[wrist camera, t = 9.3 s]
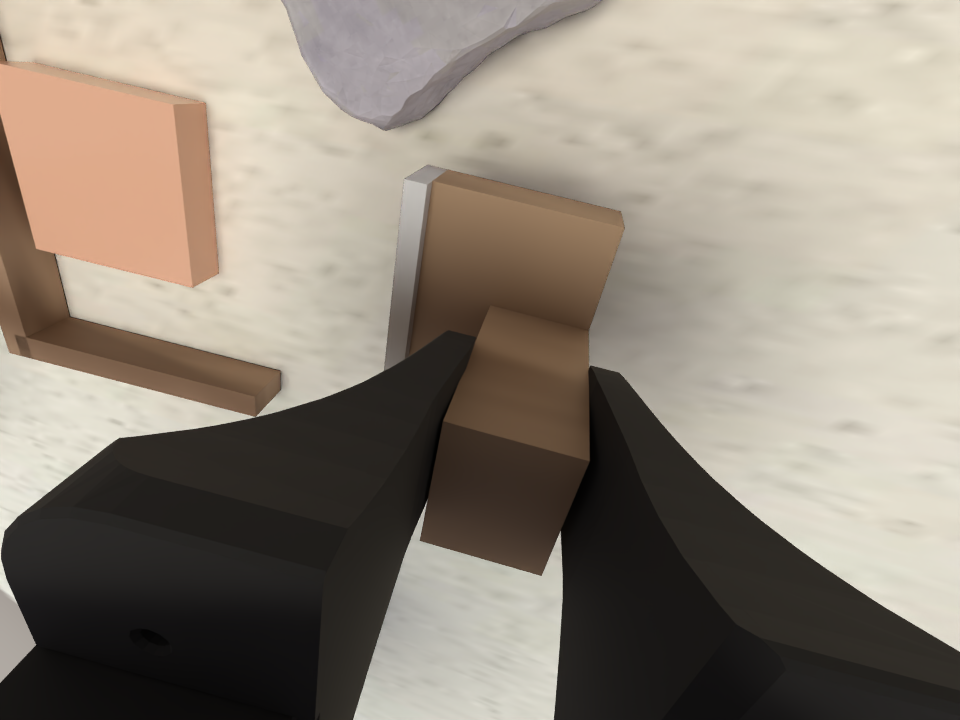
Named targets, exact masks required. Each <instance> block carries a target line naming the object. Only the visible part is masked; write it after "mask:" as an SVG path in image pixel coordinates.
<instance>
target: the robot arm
mask: <svg viewBox="0 0 960 720" xmlns="http://www.w3.org/2000/svg"><path fill="white" fill-rule="evenodd" d="M475 340H476V337H474V336H470V335H466V334H462V333H458V332H454V331H450V330H447V331H446V332H444V333H442V334H441V335H439V336H438V337H436V338H435V339H434V340H432V341H431V342H430V343H428V344H427V345H425V346H424V347H422V348H421V349H419V350H418V351H416V352H415V353H413V354H412V355H410V356H409V357H407V358H405V359H404V360H402V361H401V362H399V363H397V364H396V365H394V366H392V367H391V368H389V369H387V370H385V371H383V372H381V373H379V374H378V375H376V376H374V377H372V378H370V379H368V380H366V381H364V382H362V383H360V384H358V385H355V386H353V387H351V388H348V389H346V390H343V391H341V392H338V393H336V394H333V395H331V396H328V397H325V398H322V399H319V400H316V401H313V402H309V403H306V404H303V405H299V406H296V407H293V408H290V409H286V410H283V411H280V412H276V413H272V414H268V415H264V416H259V417H255V418H251V419H246V420H241V421H236V422H231V423H226V424H221V425H216V426H210V427H204V428H198V429H190V430H182V431H175V432H167V433H159V434H152V435H144V436H136V437H126V438H119V439H117V440H116V441H114V442H113V443H112V444H110V445H109V446H107V447H106V448H105V449H104V450H102V451H101V452H100V453H98V454H97V455H96V456H95V457H93V458H92V459H91V460H89V461H88V462H87V463H86V464H84V465H83V466H82V467H81V468H79V469H78V470H77V471H75V472H74V473H73V474H72V475H70V476H69V477H68V478H67V479H65V480H64V481H63V482H61V483H60V484H59V485H58V486H56V487H55V488H54V489H53V490H51V491H50V492H49V493H48V494H46V495H45V496H44V497H42V498H41V499H40V500H39V501H37V502H36V503H35V504H34V505H32V506H31V507H30V508H28V509H27V510H26V511H25V512H23V513H22V514H21V515H20V516H18V517H17V518H16V520H15V521H14V522H13V523H12V524H11V525H10V526H9V527H8V528H7V529H6V530H5V533H4V538H3V543H2V549H1V560H2V564H3V567H4V571H5V575H6V579H7V581H8V583H9V585H10V588H11V590H12V592H13V594H14V596H15V599H16V601H17V603H18V605H19V608H20V610H21V612H22V614H23V616H24V619H25V621H26V623H27V625H28V628H29V630H30V632H31V634H32V636H33V639H34V641H35V643H36V646H35V647H34V648H33V649H32V650H31V651H30V652H29V653H28V654H27V656H25V657H24V659H23V660H22V661H21V662H20V663H19V664H18V665H17V666H16V667H15V668H14V669H13V670H12V671H11V672H10V673H9V674H8V675H7V677H6V678H5V679H4V680H3V681H2V682H1V683H0V720H353V718H354V714H355V711H356V708H357V705H358V701H359V698H360V695H361V692H362V688H363V685H364V682H365V679H366V675H367V672H368V669H369V666H370V662H371V659H372V656H373V653H374V649H375V646H376V643H377V640H378V637H379V634H380V630H381V627H382V624H383V621H384V618H385V614H386V611H387V608H388V605H389V602H390V599H391V595H392V592H393V589H394V586H395V583H396V580H397V577H398V574H399V570H400V567H401V564H402V561H403V558H404V555H405V552H406V550H407V547H408V545H409V542H410V539H411V537H412V534H413V532H414V530H415V527H416V525H417V523H418V520H419V518H420V516H421V513H422V511H423V509H424V507H425V504H426V502H427V500H428V496H429V491H430V486H431V481H432V476H433V470H434V465H435V460H436V455H437V450H438V445H439V439H440V434H441V429H442V424H443V420H444V418H445V415H446V413H447V410H448V408H449V405H450V403H451V400H452V398H453V396H454V393H455V391H456V388H457V386H458V383H459V381H460V379H461V377H462V375H463V374H464V372H465V370H466V367H467V365H468V362H469V359H470V356H471V353H472V350H473V347H474V344H475ZM588 377H589V441H590V462H589V464H588V466H587V469H586V471H585V474H584V476H583V478H582V481H581V483H580V485H579V488H578V490H577V493H576V495H575V497H574V500H573V502H572V504H571V507H570V509H569V512H568V514H567V516H566V519H565V521H564V523H563V526H562V528H561V546H562V569H563V603H562V619H561V635H560V651H559V664H558V677H557V690H556V703H555V714H554V720H960V652H959V651H957V650H956V649H954V648H952V647H951V646H949V645H947V644H946V643H944V642H942V641H940V640H939V639H937V638H935V637H934V636H932V635H930V634H929V633H927V632H925V631H924V630H922V629H920V628H919V627H917V626H915V625H913V624H912V623H910V622H908V621H907V620H905V619H903V618H902V617H900V616H898V615H897V614H895V613H893V612H892V611H890V610H888V609H886V608H885V607H883V606H882V605H880V604H879V603H877V602H875V601H874V600H872V599H871V598H869V597H868V596H866V595H865V594H863V593H862V592H860V591H859V590H857V589H856V588H854V587H853V586H851V585H850V584H848V583H847V582H845V581H844V580H842V579H841V578H839V577H838V576H836V575H835V574H833V573H832V572H830V571H829V570H827V569H826V568H824V567H823V566H821V565H820V564H819V563H817V562H816V561H814V560H813V559H812V558H810V557H809V556H807V555H806V554H805V553H803V552H802V551H800V550H799V549H798V548H796V547H795V546H794V545H792V544H791V543H790V542H788V541H787V540H786V539H785V538H783V537H782V536H781V535H779V534H778V533H777V532H775V531H774V530H773V529H772V528H770V527H769V526H768V525H766V524H765V523H764V522H762V521H761V520H760V519H759V518H758V517H756V516H755V515H754V514H753V513H751V512H750V511H749V510H748V509H747V508H745V507H744V506H743V505H742V504H741V503H740V502H739V501H737V500H736V499H735V498H734V497H733V496H732V495H731V494H730V493H729V492H727V491H726V490H725V489H724V488H723V487H722V486H721V485H720V484H719V483H717V482H716V481H715V480H714V479H713V478H712V477H711V476H710V475H709V474H708V473H707V472H706V471H705V470H704V469H703V468H702V467H701V466H700V465H699V464H698V463H697V462H696V461H695V460H694V459H693V458H692V457H691V456H690V455H689V454H688V453H687V452H686V450H685V449H684V448H683V447H682V446H681V445H680V444H679V443H678V442H677V441H676V440H675V438H674V437H673V436H672V435H671V434H670V433H669V432H668V431H667V429H666V428H665V427H664V426H663V425H662V424H661V422H660V421H659V420H658V419H657V418H656V416H655V415H654V414H653V413H652V411H651V410H650V409H649V408H648V407H647V405H646V404H645V403H644V402H643V400H642V399H641V398H640V397H639V395H638V394H637V393H636V392H635V390H634V389H633V388H632V387H631V385H630V384H629V383H628V382H627V381H626V380H625V378H624V377H623V376H622V375H621V374H620V373H618V372H614V371H610V370H606V369H602V368H598V367H594V366H590V368H589V370H588Z"/></svg>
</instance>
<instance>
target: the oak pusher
mask: <svg viewBox="0 0 960 720" xmlns="http://www.w3.org/2000/svg"><path fill="white" fill-rule="evenodd" d="M624 229H625V227H624V223H623V218H622V214H621V211H616V210H612V209H608V208H604V207H600V206H596V205H592V204H588V203H583V202H579V201H575V200H571V199H567V198H563V197H559V196H554V195H550V194H546V193H542V192H538V191H534V190H530V189H526V188H521V187H517V186H513V185H509V184H505V183H501V182H497V181H493V180H488V179H484V178H480V177H476V176H472V175H468V174H464V173H459V172H455V171H451V170H447V169H443V168H439V167H435V166H431V165H426V166H425V167H423V168H422V169H420V170H418V171H417V172H415V173H413V174H412V175H410V176H408V177H407V178H405V179H404V185H403V195H402V204H401V214H400V223H399V233H398V242H397V252H396V261H395V271H394V281H393V290H392V300H391V309H390V319H389V328H388V338H387V347H386V357H385V366H384V371H385V370H387V369H389V368H391V367H392V366H394V365H396V364H397V363H399V362H401V361H402V360H404V359H405V358H407V357H409V356H410V355H412V354H413V353H415V352H416V351H418V350H419V349H421V348H422V347H424V346H425V345H427V344H428V343H430V342H431V341H432V340H434V339H435V338H436V337H438V336H439V335H441V334H442V333H444V332H446V331H447V330H450V331H454V332H458V333H462V334H466V335H470V336H474V337H476V340H475V344H474V347H473V350H472V353H471V356H470V359H469V362H468V365H467V367H466V370H465V372H464V374H463V375H462V377H461V379H460V381H459V383H458V386H457V388H456V391H455V393H454V396H453V398H452V400H451V403H450V405H449V408H448V410H447V413H446V415H445V418H444V420H443V424H442V429H441V434H440V439H439V445H438V450H437V455H436V460H435V465H434V470H433V476H432V481H431V486H430V491H429V496H428V501H427V506H426V512H425V517H424V522H423V527H422V532H421V537H420V541H422V542H426V543H429V544H433V545H436V546H440V547H443V548H447V549H450V550H454V551H457V552H461V553H464V554H467V555H471V556H474V557H478V558H481V559H485V560H488V561H492V562H495V563H499V564H502V565H506V566H509V567H513V568H516V569H520V570H523V571H526V572H530V573H533V574H537V575H540V576H542V573H543V571H544V569H545V566H546V564H547V561H548V559H549V557H550V554H551V552H552V550H553V547H554V545H555V542H556V540H557V538H558V535H559V533H560V531H561V528H562V526H563V523H564V521H565V519H566V516H567V514H568V512H569V509H570V507H571V504H572V502H573V500H574V497H575V495H576V493H577V490H578V488H579V485H580V483H581V481H582V478H583V476H584V474H585V471H586V469H587V466H588V464H589V462H590V441H589V377H588V370H589V328H590V325H591V322H592V320H593V317H594V314H595V311H596V308H597V305H598V303H599V300H600V297H601V294H602V291H603V288H604V285H605V283H606V280H607V277H608V274H609V271H610V268H611V266H612V263H613V260H614V257H615V254H616V251H617V248H618V246H619V243H620V240H621V237H622V234H623V231H624Z"/></svg>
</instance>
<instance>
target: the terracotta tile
mask: <svg viewBox="0 0 960 720" xmlns="http://www.w3.org/2000/svg"><path fill="white" fill-rule="evenodd" d="M0 115H1V119H2V122H3V126H4V130H5V134H6V137H7V141H8V145H9V149H10V152H11V156H12V160H13V164H14V167H15V171H16V175H17V179H18V182H19V186H20V190H21V194H22V197H23V201H24V205H25V209H26V213H27V216H28V220H29V224H30V228H31V231H32V235H33V239H34V243H35V246H36V249H39V250H43V251H47V252H51V253H55V254H59V255H63V256H67V257H71V258H75V259H79V260H83V261H87V262H91V263H95V264H99V265H103V266H107V267H111V268H115V269H119V270H123V271H127V272H132V273H136V274H140V275H144V276H148V277H152V278H156V279H160V280H164V281H168V282H172V283H176V284H180V285H184V286H188V287H192V288H193V287H195V286H196V285H198V284H200V283H202V282H204V281H206V280H208V279H209V278H211V277H213V276H215V275H217V274H219V267H218V254H217V242H216V229H215V216H214V203H213V191H212V178H211V165H210V152H209V140H208V127H207V114H206V103H204V102H200V101H195V100H191V99H187V98H183V97H178V96H174V95H170V94H166V93H161V92H157V91H153V90H149V89H144V88H140V87H136V86H132V85H127V84H123V83H119V82H115V81H110V80H106V79H102V78H98V77H93V76H89V75H85V74H81V73H76V72H72V71H68V70H64V69H59V68H55V67H51V66H47V65H42V64H38V63H34V62H11V61H0Z"/></svg>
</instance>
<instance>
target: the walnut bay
mask: <svg viewBox="0 0 960 720" xmlns="http://www.w3.org/2000/svg"><path fill="white" fill-rule="evenodd" d="M0 61H6V60H5V56H4V52H3V48H2V44H1V40H0ZM0 326H1V329H2V332H3V335H4V338H5V341H6V344H7V347H8V350H9V353H12V354H16V355H20V356H24V357H28V358H32V359H35V360H39V361H43V362H47V363H51V364H55V365H58V366H62V367H66V368H70V369H74V370H78V371H82V372H85V373H89V374H93V375H97V376H101V377H105V378H108V379H112V380H116V381H120V382H124V383H128V384H131V385H135V386H139V387H143V388H147V389H151V390H155V391H158V392H162V393H166V394H170V395H174V396H178V397H181V398H185V399H189V400H193V401H197V402H201V403H204V404H208V405H212V406H216V407H220V408H224V409H228V410H231V411H235V412H239V413H243V414H247V415H251V416H254V417H256V416H257V415H258V414H259V413H260V412H261V411H262V409H263V408H264V407H265V406H266V405H267V404H268V403H269V402H270V401H271V400H272V399H273V398H274V397H275V396H276V394H277V393H278V392H279V391H280V390H281V383H280V371H278V370H274V369H271V368H267V367H263V366H259V365H255V364H251V363H247V362H243V361H239V360H235V359H232V358H228V357H224V356H220V355H216V354H212V353H208V352H204V351H200V350H197V349H193V348H189V347H185V346H181V345H177V344H173V343H169V342H165V341H161V340H158V339H154V338H150V337H146V336H142V335H138V334H134V333H130V332H126V331H122V330H119V329H115V328H111V327H107V326H103V325H99V324H95V323H91V322H87V321H84V320H80V319H76V318H72V317H70V316H69V312H68V308H67V304H66V300H65V296H64V292H63V288H62V284H61V280H60V276H59V272H58V268H57V264H56V260H55V256H54V253H51V252H47V251H43V250H39V249H36V246H35V243H34V239H33V235H32V231H31V228H30V224H29V220H28V216H27V213H26V209H25V205H24V201H23V197H22V194H21V190H20V186H19V182H18V179H17V175H16V171H15V167H14V164H13V160H12V156H11V152H10V149H9V145H8V141H7V137H6V134H5V130H4V126H3V122H2V119H1V115H0Z"/></svg>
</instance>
